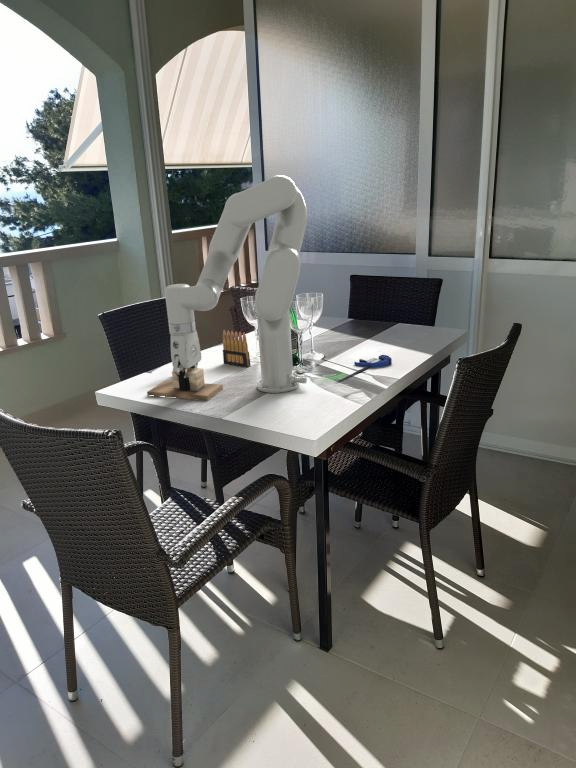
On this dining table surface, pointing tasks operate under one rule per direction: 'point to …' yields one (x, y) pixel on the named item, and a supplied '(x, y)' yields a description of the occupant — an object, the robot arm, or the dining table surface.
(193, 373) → the block
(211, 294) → the robot arm
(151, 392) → the board
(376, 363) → the bar clamp
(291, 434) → the dining table surface
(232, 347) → the ammunition clip
